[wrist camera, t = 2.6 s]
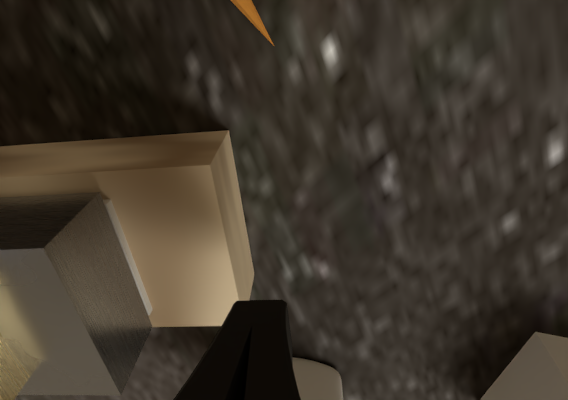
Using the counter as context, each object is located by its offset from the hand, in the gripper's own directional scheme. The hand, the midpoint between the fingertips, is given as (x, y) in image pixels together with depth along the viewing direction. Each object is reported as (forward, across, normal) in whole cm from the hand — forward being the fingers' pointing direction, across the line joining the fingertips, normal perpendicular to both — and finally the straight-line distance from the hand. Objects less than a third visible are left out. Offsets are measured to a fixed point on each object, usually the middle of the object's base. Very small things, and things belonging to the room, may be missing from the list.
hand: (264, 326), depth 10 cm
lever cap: (+3, +9, 0) cm, 9 cm away
